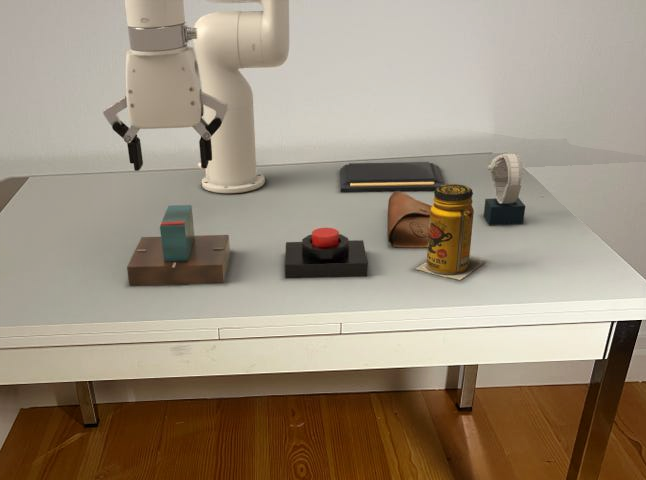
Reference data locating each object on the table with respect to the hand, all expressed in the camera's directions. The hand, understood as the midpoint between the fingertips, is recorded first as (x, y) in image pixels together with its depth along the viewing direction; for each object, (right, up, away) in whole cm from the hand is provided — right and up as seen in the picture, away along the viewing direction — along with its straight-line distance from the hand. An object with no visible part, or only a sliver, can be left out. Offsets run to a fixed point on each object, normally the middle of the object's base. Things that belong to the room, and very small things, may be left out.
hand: (171, 166), depth 109 cm
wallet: (+39, +8, +41) cm, 57 cm away
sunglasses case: (+38, -6, +18) cm, 43 cm away
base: (+1, -14, +8) cm, 16 cm away
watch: (+54, -4, +19) cm, 57 cm away
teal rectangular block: (0, -11, +6) cm, 13 cm away
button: (+22, -10, +4) cm, 25 cm away
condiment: (+41, -14, +4) cm, 44 cm away
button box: (+23, -13, +6) cm, 27 cm away
